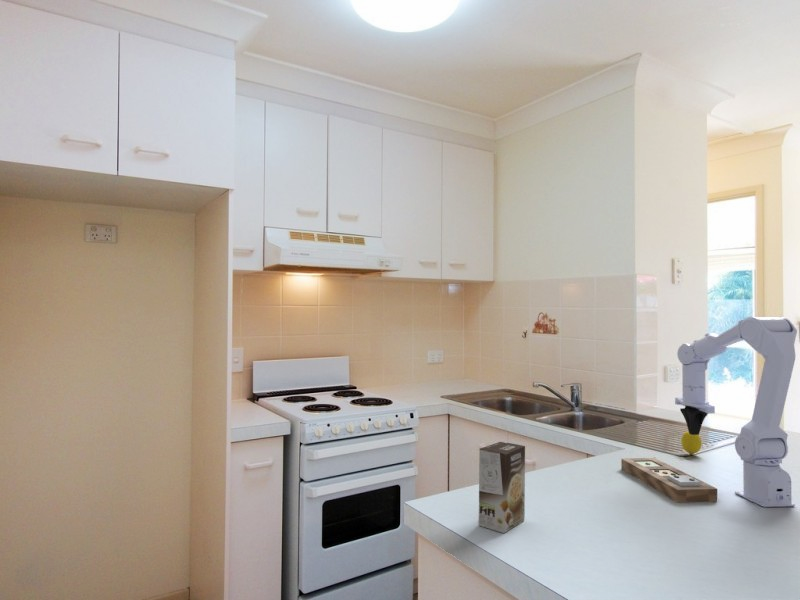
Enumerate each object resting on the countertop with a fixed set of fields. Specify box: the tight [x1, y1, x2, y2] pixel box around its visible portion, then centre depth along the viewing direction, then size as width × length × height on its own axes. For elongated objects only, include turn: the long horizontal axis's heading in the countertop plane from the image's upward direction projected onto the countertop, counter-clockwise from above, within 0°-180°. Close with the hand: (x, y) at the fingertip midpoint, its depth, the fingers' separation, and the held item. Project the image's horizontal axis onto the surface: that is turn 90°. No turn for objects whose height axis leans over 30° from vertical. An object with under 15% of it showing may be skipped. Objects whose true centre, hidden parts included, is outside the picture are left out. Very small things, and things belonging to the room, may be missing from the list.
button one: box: [636, 461, 659, 467], centre depth 144 cm, size 5×5×3 cm
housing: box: [620, 457, 718, 503], centre depth 136 cm, size 26×10×3 cm, turn 5°
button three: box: [651, 470, 677, 476], centre depth 136 cm, size 5×5×3 cm
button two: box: [668, 474, 701, 486], centre depth 128 cm, size 5×5×3 cm
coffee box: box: [478, 441, 526, 534], centre depth 110 cm, size 9×6×16 cm
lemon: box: [681, 430, 702, 456], centre depth 164 cm, size 6×6×8 cm
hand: (694, 434), depth 147 cm, fingers closed
